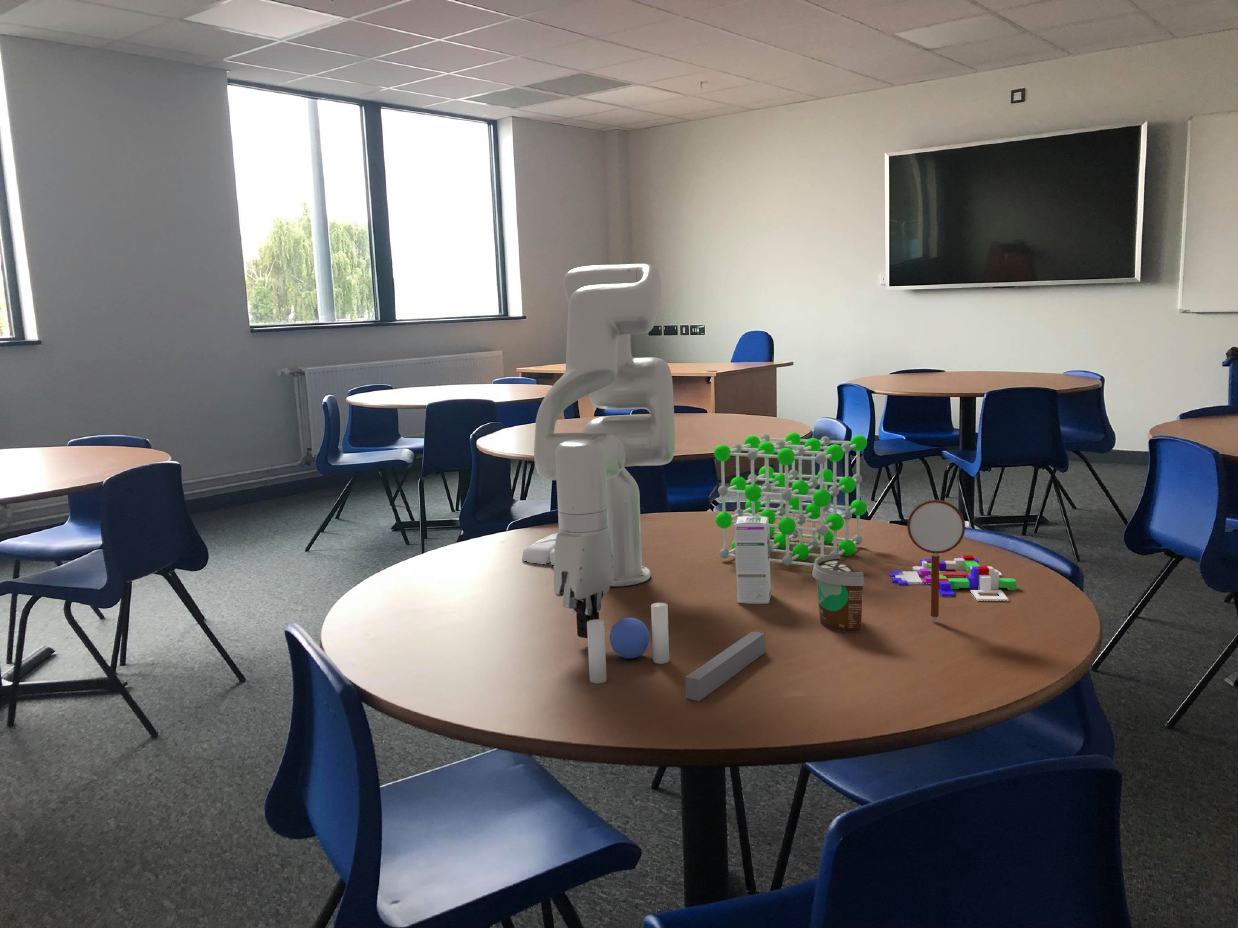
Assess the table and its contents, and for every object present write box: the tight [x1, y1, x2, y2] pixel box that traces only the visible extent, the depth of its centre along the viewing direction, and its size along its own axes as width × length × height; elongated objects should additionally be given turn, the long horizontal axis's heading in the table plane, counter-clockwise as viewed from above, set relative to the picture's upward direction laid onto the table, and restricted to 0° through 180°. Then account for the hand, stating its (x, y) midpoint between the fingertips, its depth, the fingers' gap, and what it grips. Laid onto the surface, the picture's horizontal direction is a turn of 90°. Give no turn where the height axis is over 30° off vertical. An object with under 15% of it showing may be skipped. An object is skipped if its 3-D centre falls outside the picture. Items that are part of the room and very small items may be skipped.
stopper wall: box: [685, 631, 766, 702], centre depth 131 cm, size 2×20×3 cm, turn 146°
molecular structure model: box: [713, 431, 868, 567], centre depth 192 cm, size 24×25×24 cm
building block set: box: [888, 554, 1017, 602], centre depth 171 cm, size 25×20×4 cm
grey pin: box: [587, 618, 608, 684], centre depth 130 cm, size 2×2×8 cm
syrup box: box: [733, 516, 772, 605], centre depth 164 cm, size 6×6×14 cm
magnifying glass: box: [906, 499, 966, 623], centre depth 148 cm, size 9×2×20 cm, turn 71°
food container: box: [811, 554, 865, 633], centre depth 150 cm, size 12×6×10 cm, turn 5°
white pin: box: [650, 602, 670, 665], centre depth 137 cm, size 2×2×8 cm
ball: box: [609, 617, 651, 659], centre depth 139 cm, size 6×6×6 cm
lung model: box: [521, 532, 559, 566], centre depth 202 cm, size 7×17×25 cm
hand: (588, 636), depth 144 cm, fingers closed
